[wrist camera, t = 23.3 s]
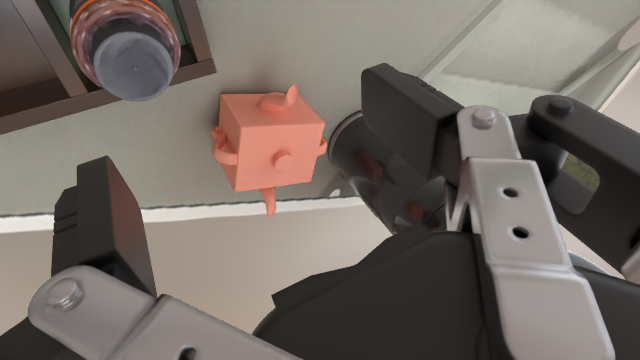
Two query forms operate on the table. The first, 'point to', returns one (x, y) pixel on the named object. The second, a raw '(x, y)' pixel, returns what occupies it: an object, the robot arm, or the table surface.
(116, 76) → the supplement bottle
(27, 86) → the organizer
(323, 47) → the table surface
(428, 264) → the robot arm
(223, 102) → the teapot
